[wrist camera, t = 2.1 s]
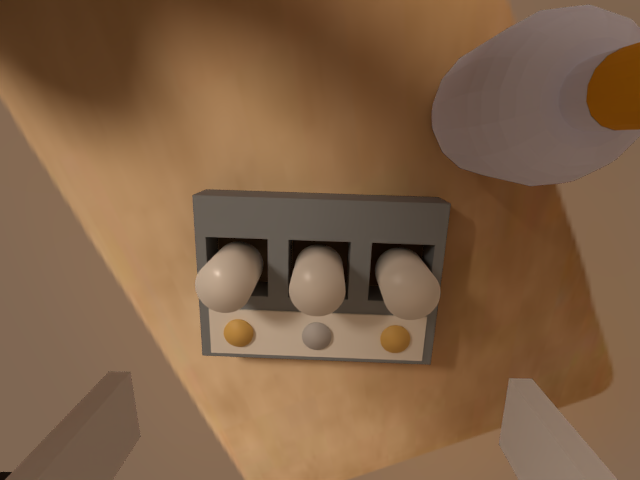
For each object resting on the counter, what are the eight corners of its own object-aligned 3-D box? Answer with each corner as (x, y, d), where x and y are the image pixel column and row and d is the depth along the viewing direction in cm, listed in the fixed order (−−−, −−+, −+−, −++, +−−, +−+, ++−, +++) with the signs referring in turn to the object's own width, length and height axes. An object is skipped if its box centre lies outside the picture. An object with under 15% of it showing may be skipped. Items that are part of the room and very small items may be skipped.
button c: (373, 291, 37) (381, 318, 32) (376, 245, 36) (385, 266, 30) (420, 293, 37) (437, 321, 31) (425, 247, 36) (443, 268, 30)
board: (213, 335, 42) (200, 358, 38) (206, 189, 38) (190, 195, 34) (421, 343, 42) (431, 367, 38) (438, 197, 38) (452, 204, 33)
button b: (294, 288, 37) (288, 315, 32) (295, 243, 36) (289, 262, 30) (341, 289, 37) (344, 317, 32) (344, 244, 36) (346, 264, 30)
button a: (217, 285, 38) (196, 311, 32) (214, 240, 36) (193, 259, 31) (263, 287, 38) (251, 314, 32) (263, 242, 36) (250, 261, 30)
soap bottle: (508, 174, 37) (816, 234, 14) (407, 164, 37) (541, 206, 14) (534, 63, 34) (975, -99, 11) (425, 52, 34) (631, -135, 11)
